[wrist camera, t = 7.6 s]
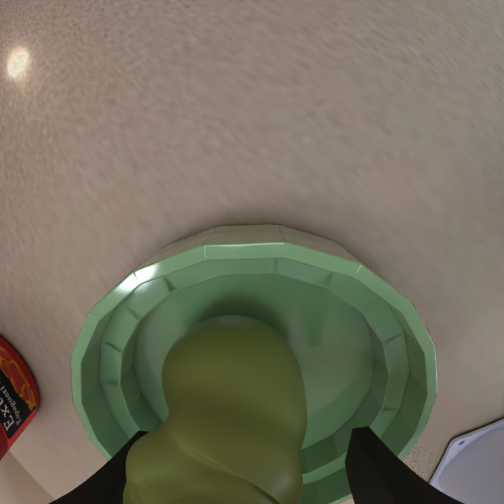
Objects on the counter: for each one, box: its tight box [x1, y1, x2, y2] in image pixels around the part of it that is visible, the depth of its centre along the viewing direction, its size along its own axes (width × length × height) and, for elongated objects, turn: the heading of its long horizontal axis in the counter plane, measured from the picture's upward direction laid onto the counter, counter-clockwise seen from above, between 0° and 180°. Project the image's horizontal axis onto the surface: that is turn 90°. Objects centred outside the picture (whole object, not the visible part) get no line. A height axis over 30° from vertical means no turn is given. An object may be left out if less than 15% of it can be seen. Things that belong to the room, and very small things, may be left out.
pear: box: [123, 315, 307, 504], centre depth 9 cm, size 6×5×10 cm
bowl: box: [71, 224, 437, 504], centre depth 13 cm, size 15×15×4 cm
